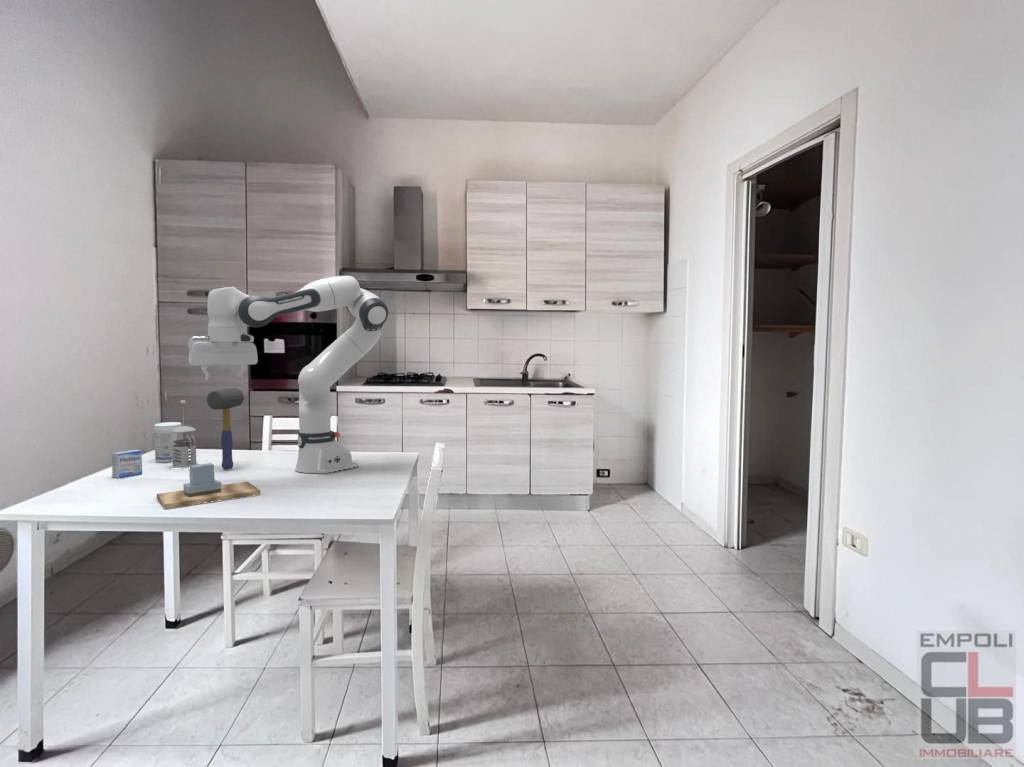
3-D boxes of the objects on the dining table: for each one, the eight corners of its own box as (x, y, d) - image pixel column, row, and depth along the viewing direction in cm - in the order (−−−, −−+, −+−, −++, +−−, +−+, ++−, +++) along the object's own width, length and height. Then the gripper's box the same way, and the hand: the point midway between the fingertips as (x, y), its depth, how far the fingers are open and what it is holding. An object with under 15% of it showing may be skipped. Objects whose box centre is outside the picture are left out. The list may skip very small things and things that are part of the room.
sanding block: (215, 488, 187) (214, 461, 186) (221, 491, 183) (220, 464, 182) (183, 493, 180) (182, 466, 180) (189, 497, 177) (188, 468, 176)
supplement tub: (175, 457, 240) (173, 421, 239) (188, 460, 235) (187, 423, 234) (150, 461, 232) (148, 424, 230) (163, 464, 227) (162, 426, 225)
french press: (191, 462, 231) (189, 398, 229) (207, 466, 224) (205, 400, 222) (164, 466, 223) (162, 400, 221) (180, 471, 216) (177, 402, 214)
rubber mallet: (225, 474, 213) (223, 390, 210) (206, 472, 214) (204, 389, 212) (247, 466, 225) (245, 387, 223) (229, 465, 226) (227, 386, 224)
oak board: (247, 485, 197) (247, 481, 196) (260, 494, 186) (260, 490, 186) (156, 498, 180) (156, 493, 180) (165, 509, 169) (165, 504, 169)
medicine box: (118, 479, 204) (117, 453, 203) (112, 477, 206) (111, 452, 206) (142, 474, 211) (141, 450, 210) (136, 472, 213) (135, 448, 212)
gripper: (189, 336, 184) (191, 380, 186) (258, 336, 197) (259, 378, 198) (185, 336, 189) (186, 379, 190) (253, 336, 202) (254, 377, 203)
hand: (224, 379), depth 195 cm, fingers open, 8 cm apart
